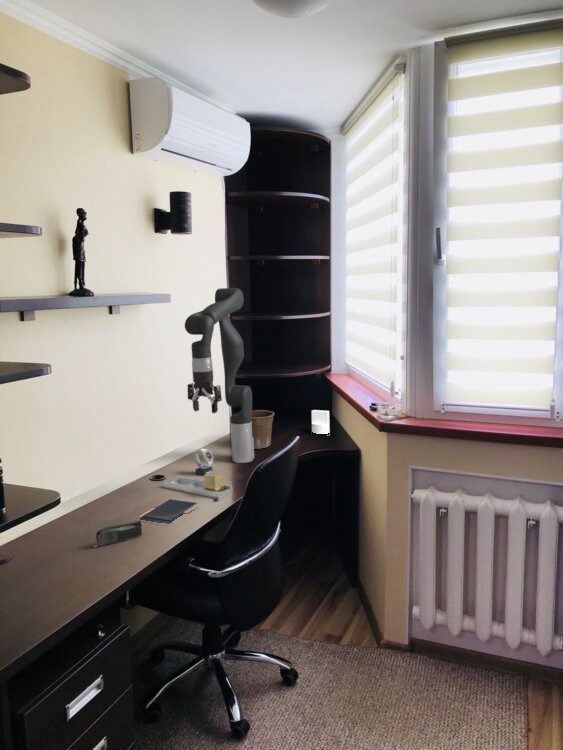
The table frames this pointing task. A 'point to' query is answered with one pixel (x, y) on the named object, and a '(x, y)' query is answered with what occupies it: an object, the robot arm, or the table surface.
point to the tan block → (214, 481)
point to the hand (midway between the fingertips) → (205, 411)
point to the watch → (207, 457)
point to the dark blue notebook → (167, 511)
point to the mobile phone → (118, 533)
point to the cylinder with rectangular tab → (320, 422)
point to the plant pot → (262, 428)
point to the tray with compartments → (197, 487)
